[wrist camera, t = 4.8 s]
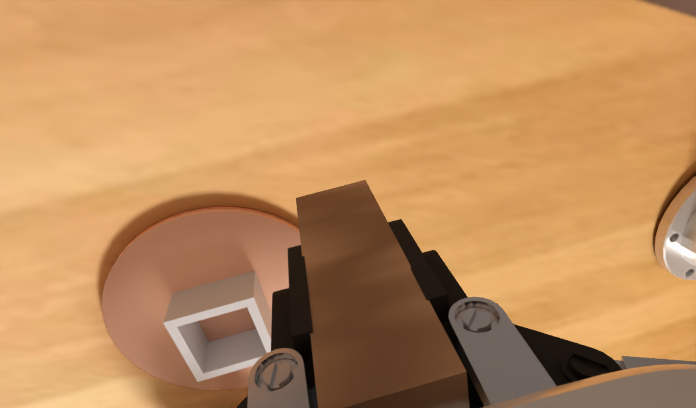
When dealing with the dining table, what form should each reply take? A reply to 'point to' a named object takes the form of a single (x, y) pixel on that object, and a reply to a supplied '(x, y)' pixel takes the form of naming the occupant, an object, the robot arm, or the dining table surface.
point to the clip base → (199, 295)
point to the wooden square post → (371, 311)
